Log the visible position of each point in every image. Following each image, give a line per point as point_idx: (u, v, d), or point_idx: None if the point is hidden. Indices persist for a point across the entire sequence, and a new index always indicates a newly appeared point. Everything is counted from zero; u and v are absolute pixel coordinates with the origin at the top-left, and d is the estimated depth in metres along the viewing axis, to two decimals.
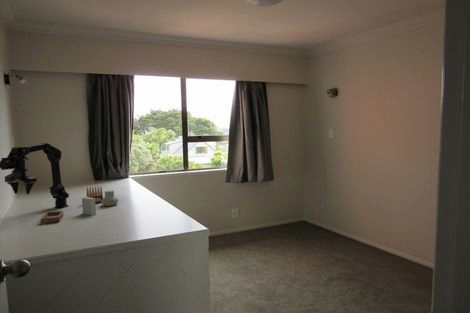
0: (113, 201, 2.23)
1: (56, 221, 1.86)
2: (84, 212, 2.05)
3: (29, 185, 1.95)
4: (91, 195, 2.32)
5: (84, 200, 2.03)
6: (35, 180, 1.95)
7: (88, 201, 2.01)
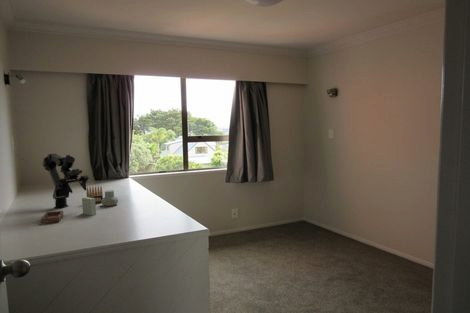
0: (113, 201, 2.23)
1: (56, 221, 1.86)
2: (84, 212, 2.05)
3: None
4: (91, 195, 2.32)
5: (84, 200, 2.03)
6: None
7: (88, 201, 2.01)
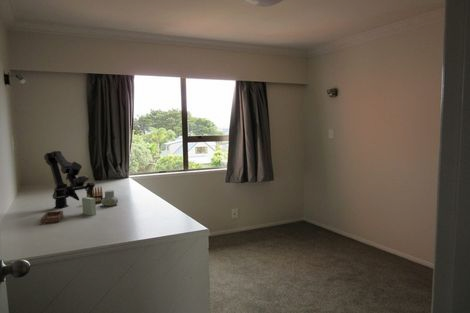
0: (113, 201, 2.23)
1: (56, 221, 1.86)
2: (84, 212, 2.05)
3: None
4: None
5: (84, 200, 2.03)
6: None
7: (88, 201, 2.01)
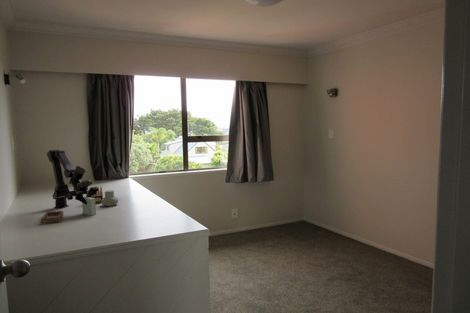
0: (113, 201, 2.23)
1: (56, 221, 1.86)
2: (83, 211, 2.05)
3: None
4: None
5: None
6: None
7: (88, 201, 2.01)
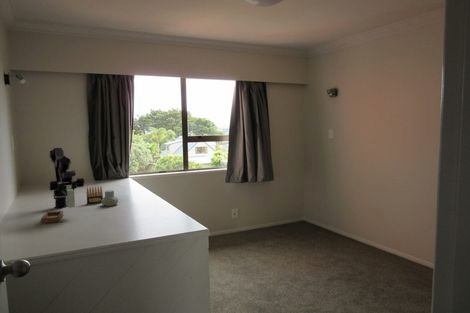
0: (113, 201, 2.23)
1: (56, 221, 1.86)
2: (66, 203, 1.98)
3: None
4: (91, 195, 2.32)
5: (66, 191, 1.96)
6: None
7: (67, 193, 1.93)
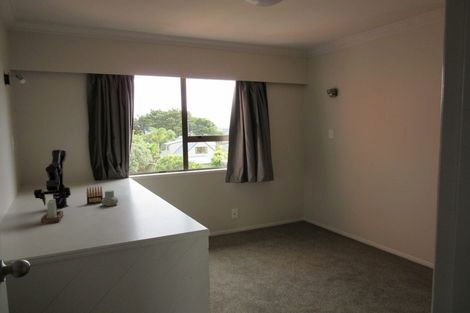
0: (113, 201, 2.24)
1: (56, 221, 1.86)
2: None
3: (61, 196, 1.97)
4: (91, 195, 2.32)
5: None
6: (70, 193, 2.01)
7: None
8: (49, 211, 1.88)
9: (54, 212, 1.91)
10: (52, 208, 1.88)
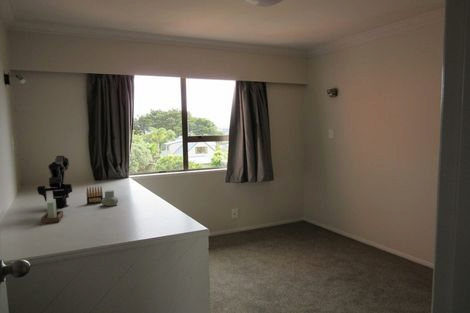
0: (113, 201, 2.24)
1: (56, 221, 1.86)
2: None
3: (65, 193, 2.06)
4: (91, 195, 2.32)
5: None
6: None
7: None
8: (49, 211, 1.88)
9: (54, 212, 1.91)
10: (52, 208, 1.88)
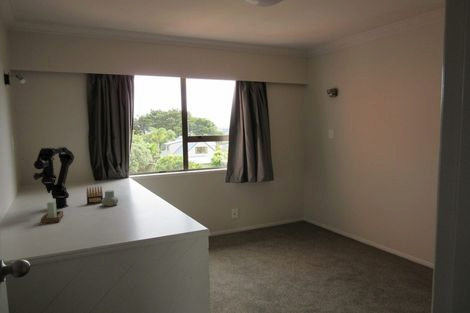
0: (113, 201, 2.23)
1: (56, 221, 1.86)
2: None
3: (49, 185, 2.05)
4: (91, 195, 2.32)
5: None
6: (50, 181, 2.02)
7: None
8: (49, 211, 1.88)
9: (54, 212, 1.91)
10: (52, 208, 1.88)
